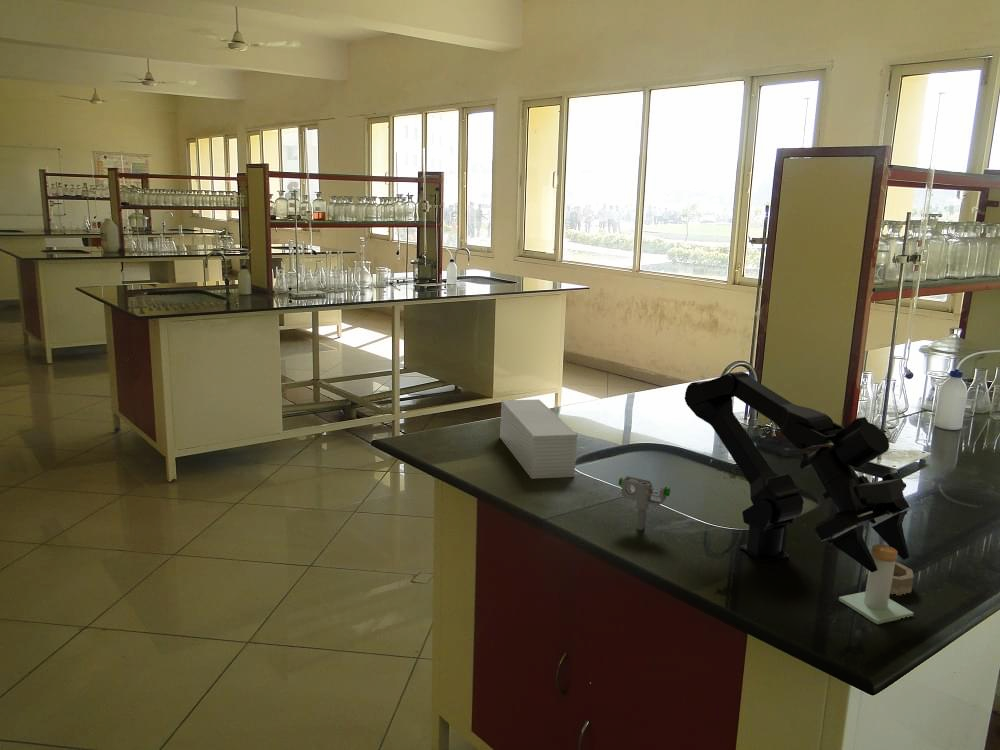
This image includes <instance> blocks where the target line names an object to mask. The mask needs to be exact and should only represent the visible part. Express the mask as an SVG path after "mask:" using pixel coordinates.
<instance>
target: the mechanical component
mask: <svg viewBox="0 0 1000 750" xmlns="http://www.w3.org/2000/svg"><path fill="white" fill-rule="evenodd" d="M618 485H619V486H620V488H621V491H620V492H621V496H623V498H625V499H628V500H631V501H635V502H636V505H635V508H637V518H636V520H637V521H636V529H637V530H639V531H642V530H644V529H645V527H646V516H647V511H648V510H649V509H650V506H649V505H654V506H660V505H662V503H664V502H665V500H666V499H667V497H669V496H670V494H671V488H669V487H667V485H662V486H661V487H660V489H659V490H656V489H655V487H654V485H653V482H652V481H650V480H647V479H642V478H639V477H633V476H629V475H626V476H624V477H620V478H619V479H618ZM632 487H633V488H634V489H633V488H632ZM655 497H656V498H655Z"/></svg>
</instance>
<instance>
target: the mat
mask: <svg viewBox="0 0 1000 750" xmlns="http://www.w3.org/2000/svg"><path fill="white" fill-rule="evenodd" d="M865 592H866V591H861V592H857V593H852V594H847V595H843V596H838V601H839V602H841V603H842V604H844V605H845V606H847V607H849V608H850V609H852V610H854V611H855V612H857V613H858V614H860V615H862V616H864V618H866V619H868V620H869V621H871V622H872V623H874V624H876V625H881V624H884V623H889V622H892V621H898V620H901V618H903V619H906V618H905V617H907V618H911V617H914V612H913V611H911V610H909V609H908V608H906V607H904V606H903V605H901V604H899V603H898V602H896V601H894V600H893V599H891V598H889V602H888V608H887V609H886V610H876V609H872V608H870V607H868V606H866V605H865V604H864V598H865ZM910 616H911V617H910Z"/></svg>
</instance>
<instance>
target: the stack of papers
mask: <svg viewBox="0 0 1000 750" xmlns="http://www.w3.org/2000/svg"><path fill="white" fill-rule="evenodd" d="M500 403H501V405H500V406H501V408H500V426H499V427H500V431H499V438H500V440H502V442H503V443H504V445H505V446H506V447H507V449H508V451H510V453H511V454H512V455H513V457H514V458H515V459H516V460H517V461H518V463H519V465H521V467H522V468H523V470H524V471H525V472H526V474H527V476H528V477H530V479H531V480H533V479H534V480H535V479H550V478H551V479H552V478H555V479H558V478H570V477H571V478H572V477H573V478H574V477H575V472H576V470H575V469H576V459H577V445H578V444H577V442H578V439H577V438H578V434H577V433H576V432H575V431H574V430H573V429H572V428H571V427H570V426H568V425H567V424H566V423H565V422H564V420H562V419H561V418H560V417H558V416H557V414H555V413H554V412H553V411H552V410H551V409H550V408H549V407H548V406H547V405H546V404H544V402H543V401H541V399H508V400H507V399H505V400H501V402H500Z"/></svg>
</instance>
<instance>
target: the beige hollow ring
mask: <svg viewBox="0 0 1000 750" xmlns="http://www.w3.org/2000/svg"><path fill="white" fill-rule="evenodd" d="M865 569H866V568H865ZM868 573H869V570H868V569H866V570H865V579H864V585H863V587H864V588H866V586H867V579H868ZM914 579H915V576H914V572H913V569H911V568H909V567H907V566H905V565H904V564H902V563H899V562H897V561H895V567H894V573H893V579H892V584H891V590H890V595H893V594H896V595H895V596H903V595H902V594H904V595H907V594H906V593H909V594H911V593H912V589H913V583H914ZM910 592H911V593H910Z"/></svg>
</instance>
